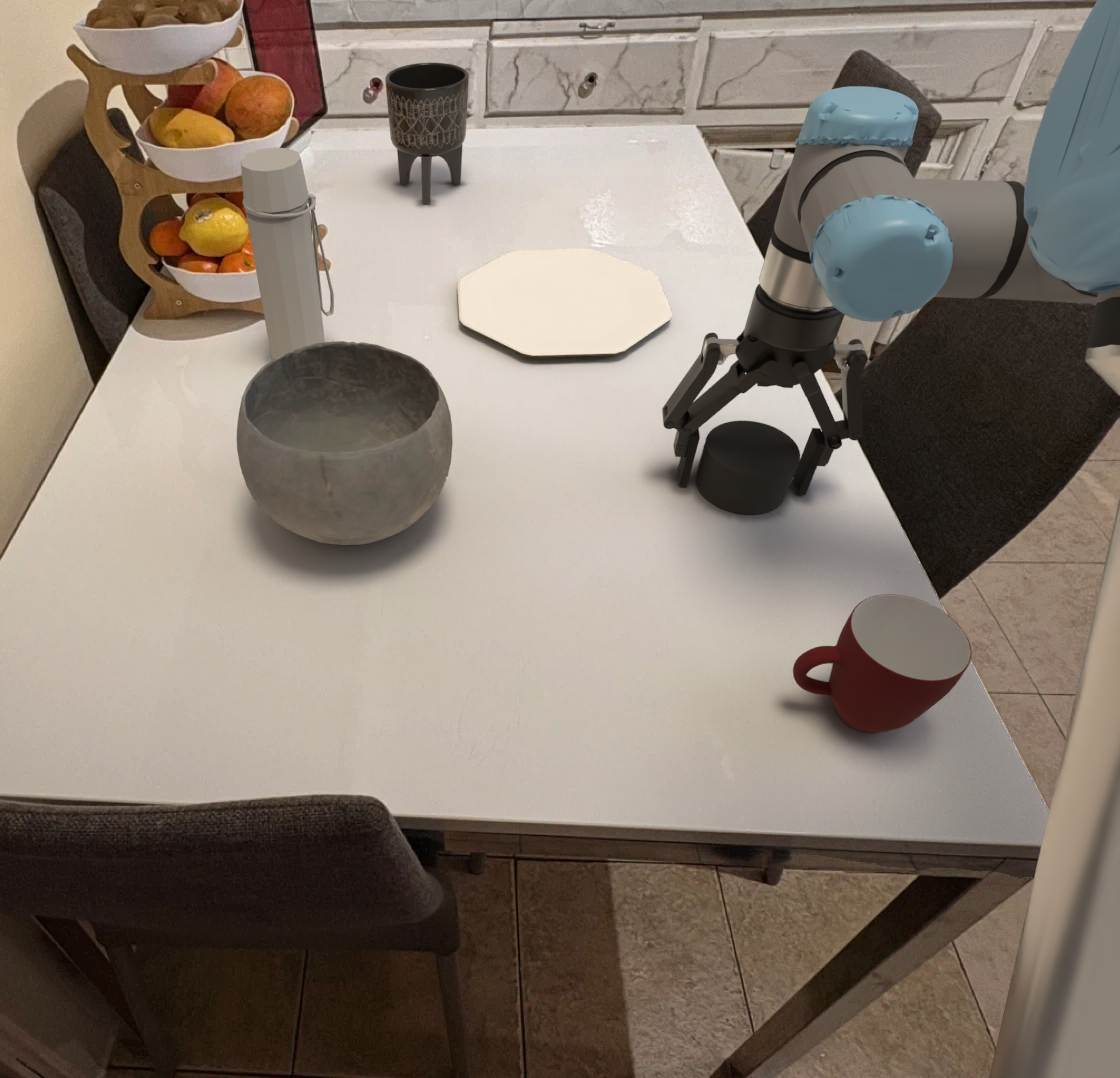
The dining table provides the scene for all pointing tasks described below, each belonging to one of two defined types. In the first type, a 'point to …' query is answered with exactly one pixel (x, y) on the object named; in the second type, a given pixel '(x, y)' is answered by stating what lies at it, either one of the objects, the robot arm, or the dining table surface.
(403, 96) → the planter
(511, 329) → the plate
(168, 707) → the dining table surface
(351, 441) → the bowl
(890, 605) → the mug
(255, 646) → the dining table surface
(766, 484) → the puck
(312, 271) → the water bottle
